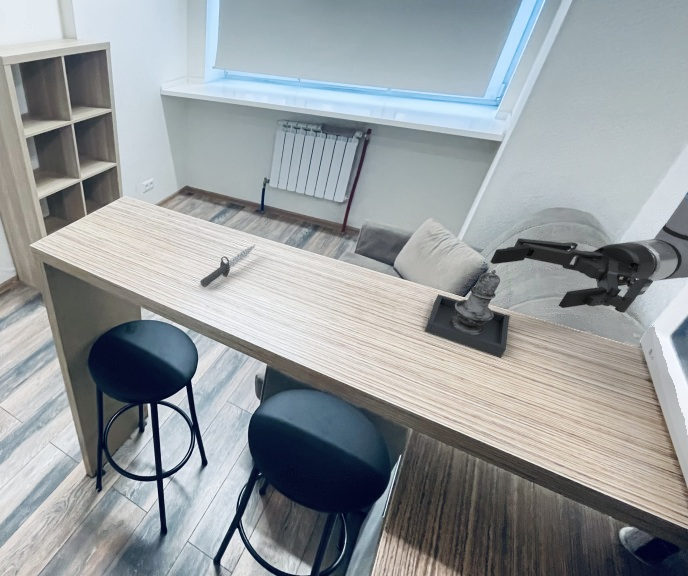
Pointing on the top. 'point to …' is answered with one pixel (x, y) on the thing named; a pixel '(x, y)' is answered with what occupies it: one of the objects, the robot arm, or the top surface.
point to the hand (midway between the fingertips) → (526, 276)
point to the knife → (225, 267)
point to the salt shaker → (476, 305)
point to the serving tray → (487, 341)
